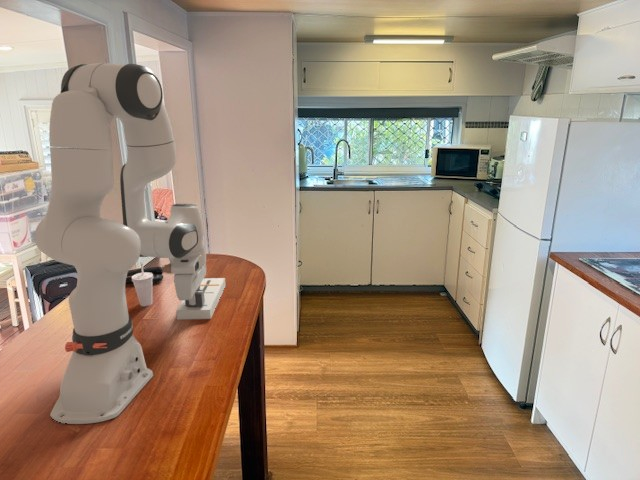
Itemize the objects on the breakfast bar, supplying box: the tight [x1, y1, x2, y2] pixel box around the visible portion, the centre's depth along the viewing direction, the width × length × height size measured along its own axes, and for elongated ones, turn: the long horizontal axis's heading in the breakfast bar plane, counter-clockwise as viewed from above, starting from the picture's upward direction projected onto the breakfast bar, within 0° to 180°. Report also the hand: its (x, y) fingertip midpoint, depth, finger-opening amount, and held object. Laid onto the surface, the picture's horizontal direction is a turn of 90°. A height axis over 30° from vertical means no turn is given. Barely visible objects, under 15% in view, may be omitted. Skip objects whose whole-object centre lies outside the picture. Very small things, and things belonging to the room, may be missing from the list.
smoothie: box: [131, 261, 153, 307], centre depth 136 cm, size 6×6×14 cm
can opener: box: [125, 266, 164, 285], centre depth 154 cm, size 18×7×6 cm, turn 100°
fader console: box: [175, 277, 226, 320], centre depth 139 cm, size 24×10×3 cm, turn 1°
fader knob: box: [185, 290, 205, 307], centre depth 129 cm, size 3×5×4 cm, turn 91°
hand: (195, 300), depth 129 cm, fingers closed on fader knob, 3 cm apart
